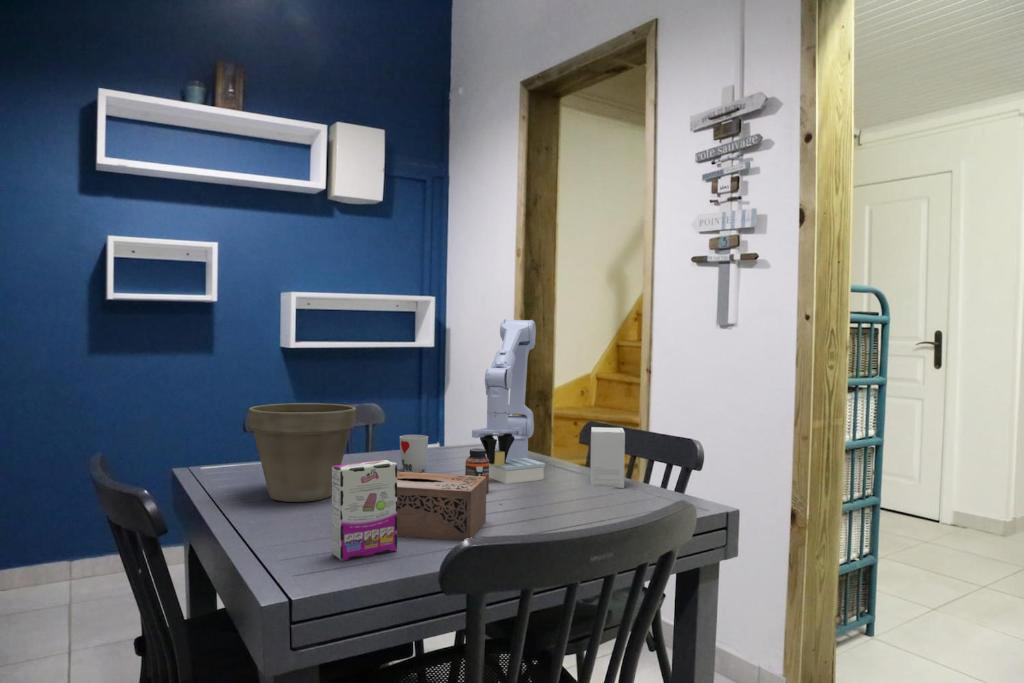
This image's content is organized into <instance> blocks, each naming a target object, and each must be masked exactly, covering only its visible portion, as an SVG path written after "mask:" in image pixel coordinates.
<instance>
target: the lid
mask: <svg viewBox="0 0 1024 683" xmlns="http://www.w3.org/2000/svg"><path fill="white" fill-rule="evenodd" d="M504 459H505V452H503V451H500V450H498V449H497V450H496V449H495V460H494V464H490V463H489V465H491V466H494V467H497V468H500V469H503V470H506V471H507V470H517V469H526V468H535V467H544V468H545V467H546V463H545V462H541V461H538V460H536V459H532V458H529V457H528V458H515V459H508V458H507V459H506V462H505V463H504Z"/></svg>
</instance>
